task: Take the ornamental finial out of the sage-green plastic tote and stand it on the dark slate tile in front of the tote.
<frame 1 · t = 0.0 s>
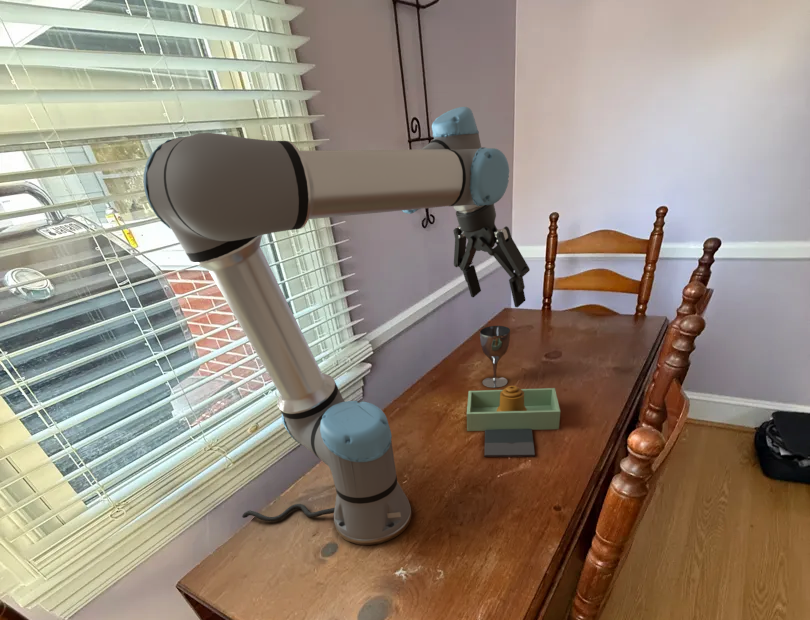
hand: (497, 298, 108), 28 cm above the table, tool tilted 20°, fingers open, 13 cm apart
tote: (511, 417, 119), on the table
ornamental finial: (511, 417, 119), resting on tote
slate tile: (508, 443, 110), on the table
metal goblet: (494, 382, 136), on the table
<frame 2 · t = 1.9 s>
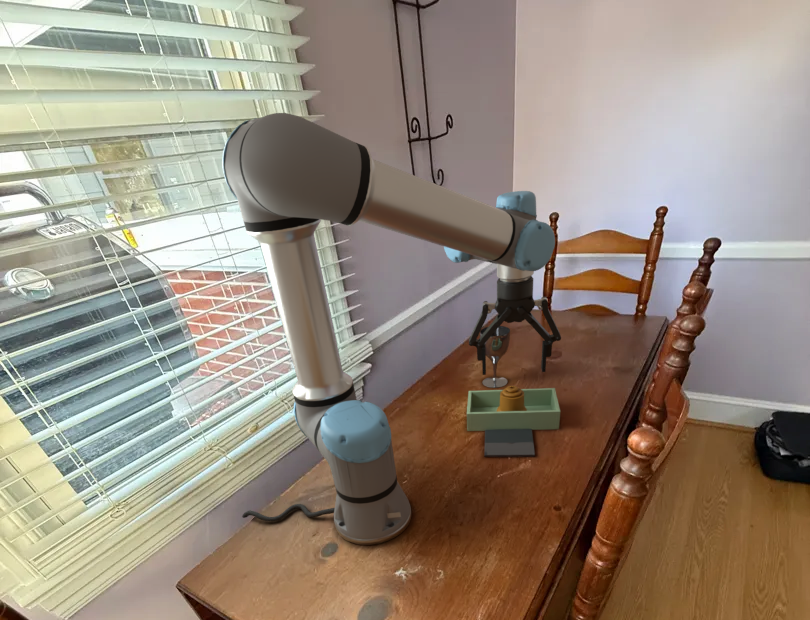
hand: (513, 371, 112), 12 cm above the table, tool pointing down, fingers open, 13 cm apart
nothing on the table moved.
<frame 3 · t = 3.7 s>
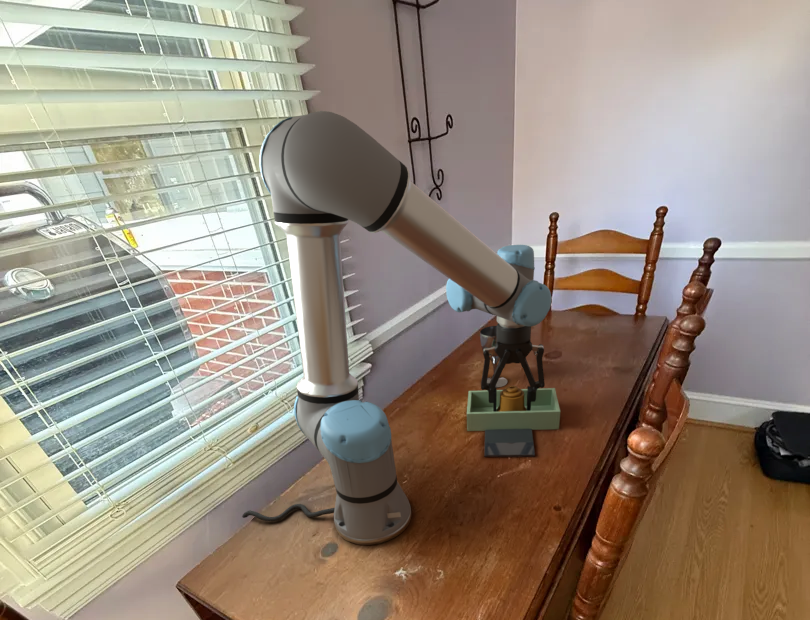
hand: (511, 412, 119), 1 cm above the table, tool pointing down, fingers closed on ornamental finial, 7 cm apart
ornamental finial: (511, 417, 119), resting on tote, touching gripper
everything else where it was.
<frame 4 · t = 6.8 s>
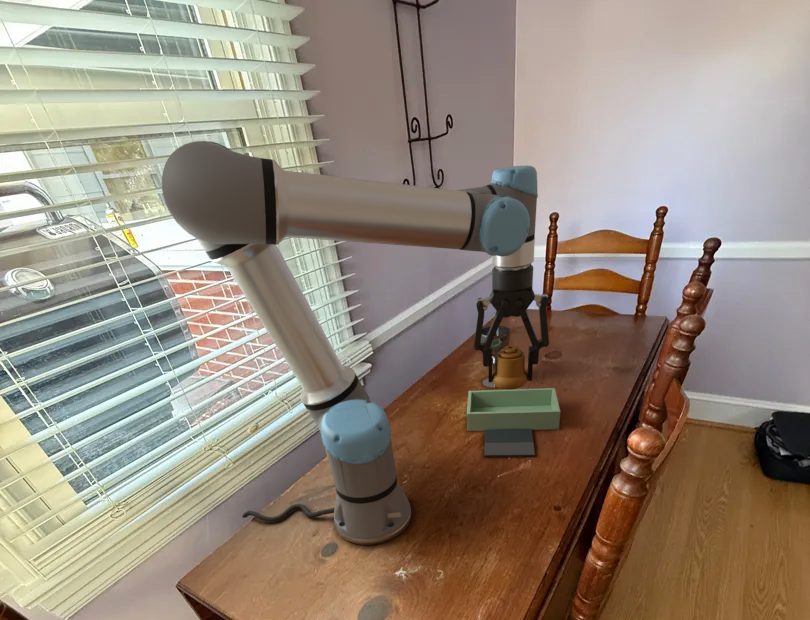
hand: (509, 378, 101), 16 cm above the table, tool pointing down, fingers closed on ornamental finial, 7 cm apart
ornamental finial: (509, 383, 102), point 15 cm above the table, touching gripper
everything else where it was.
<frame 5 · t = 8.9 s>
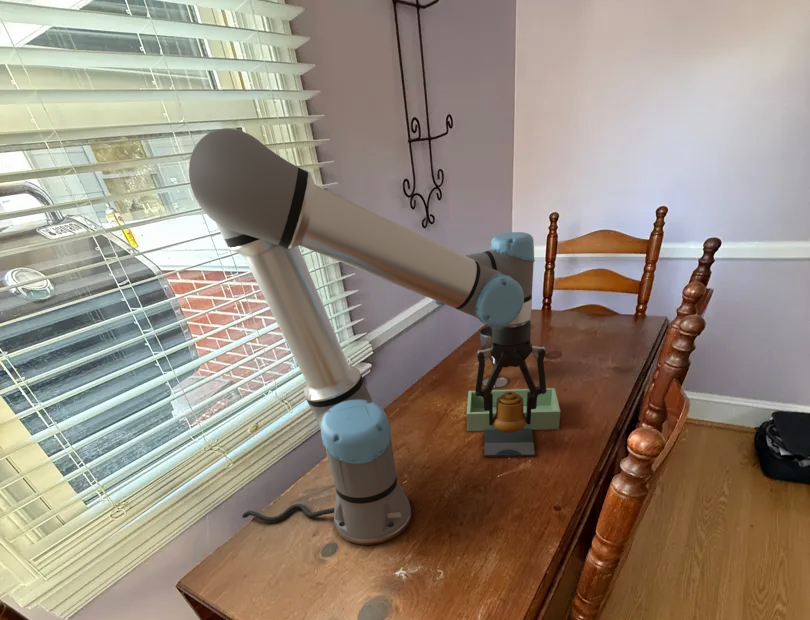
hand: (509, 421, 107), 6 cm above the table, tool pointing down, fingers closed on ornamental finial, 7 cm apart
ornamental finial: (509, 426, 107), point 5 cm above the table, touching gripper
everything else where it was.
when the fingers open (2 cm above the table, at t = 10.4 s): ornamental finial stays where it is, resting on slate tile.
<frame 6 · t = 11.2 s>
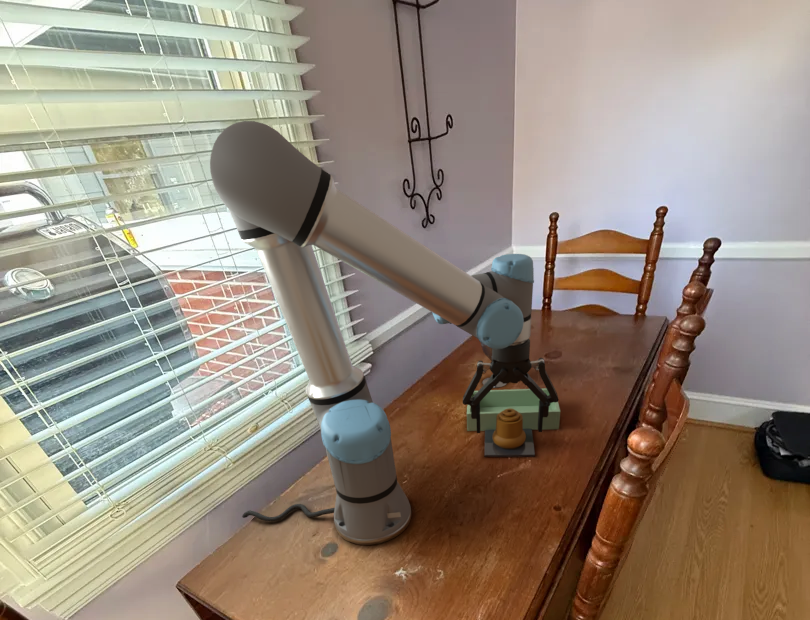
hand: (508, 429, 108), 4 cm above the table, tool pointing down, fingers open, 13 cm apart
ornamental finial: (508, 442, 110), resting on slate tile
everything else where it was.
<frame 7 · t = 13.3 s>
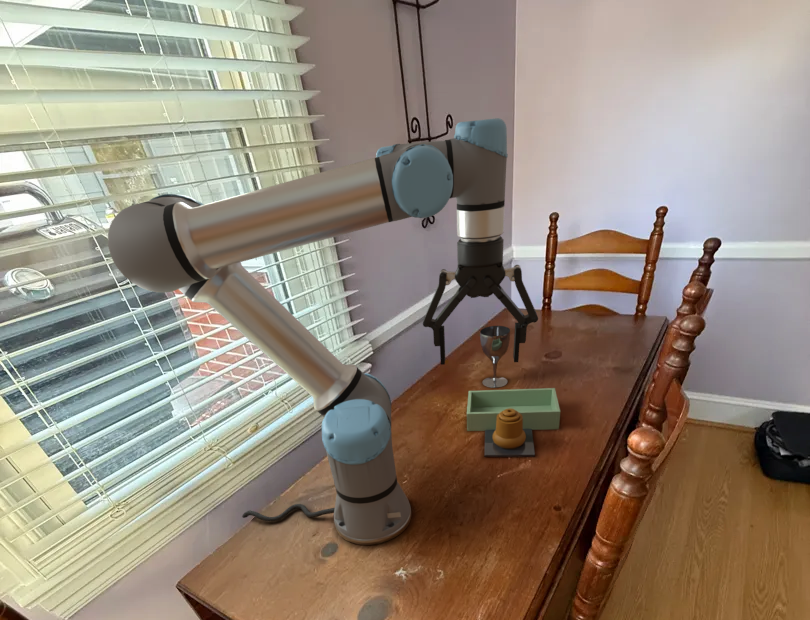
hand: (479, 360, 90), 25 cm above the table, tool pointing down, fingers open, 13 cm apart
nothing on the table moved.
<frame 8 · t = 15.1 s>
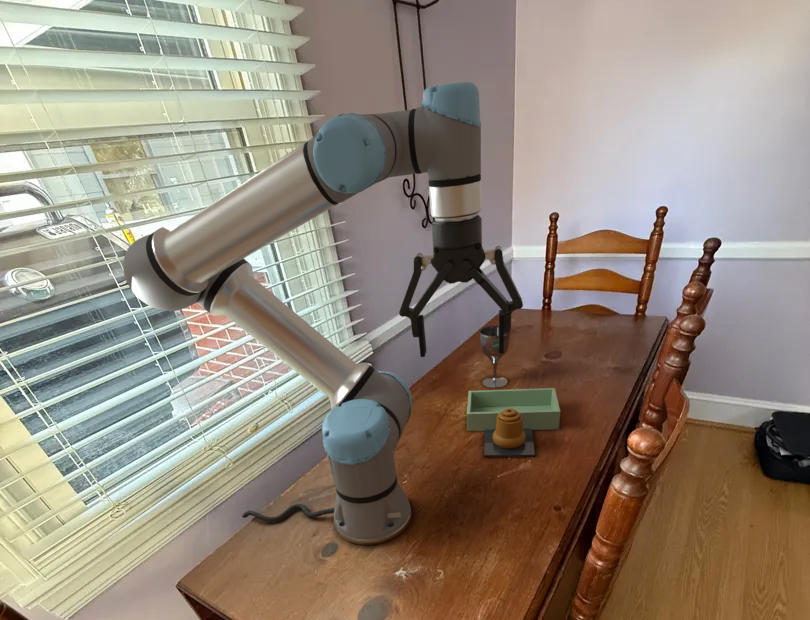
hand: (461, 352, 83), 29 cm above the table, tool pointing down, fingers open, 13 cm apart
nothing on the table moved.
at the end: ornamental finial inside the target area on the slate tile (0.0 cm from its centre), point 0.4 cm above the slate tile's base; ornamental finial tilted 0°; ornamental finial touching slate tile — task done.
